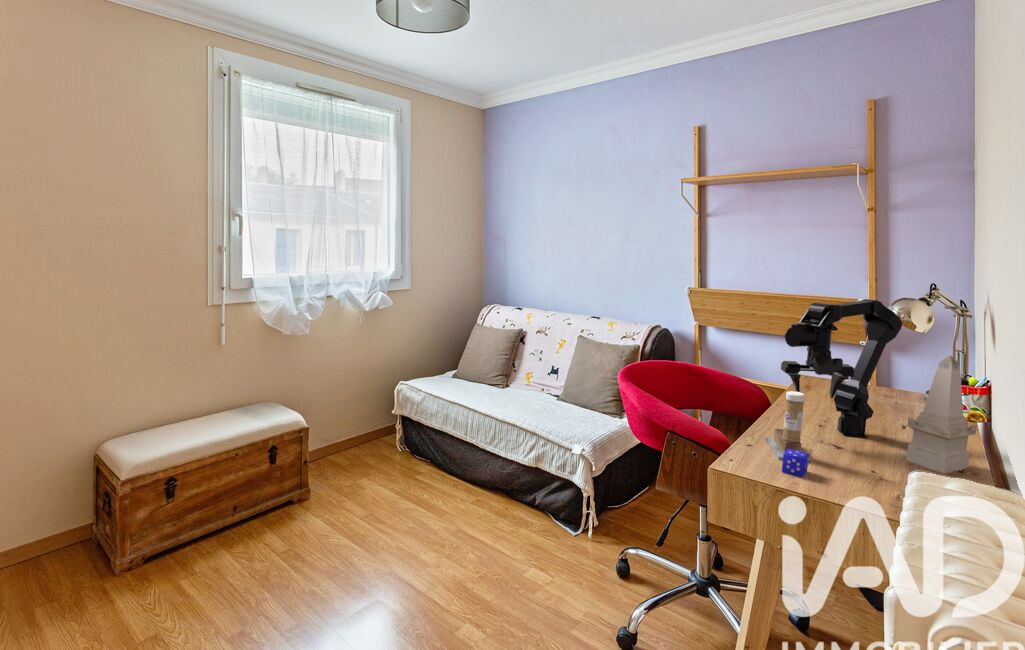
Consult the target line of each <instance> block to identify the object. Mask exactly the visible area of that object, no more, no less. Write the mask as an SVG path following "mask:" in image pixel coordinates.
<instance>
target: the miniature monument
mask: <svg viewBox="0 0 1025 650" xmlns="http://www.w3.org/2000/svg"><path fill="white" fill-rule="evenodd" d="M962 390H963V388H962V376H961V364H960V362H959V361H958V360H957V359H955V358H954V357H953V356H952V355H951V354H949V355H948V356H946V357H945V358H944V359H942V360H940V361H939V362H938V364H937V366H936V371H935V373H934V376H933V379H932V382H931V386H930V389H929V392H928V395H927V398H926V402H925V405H924V406H923V407H924V408H923V410H922V411H921V412H919V413H918V416H917V417H916V418H915V419H914V418H912V417H910V416H909V417H908V418H907V427H908V428H910V429H912V430H913V433H912V439H911V440H912V441H911V443H910V444H908V445H907V452H906V459H905V460H906V461H907V462H910V463H913V464H916V465H918V466H920V467H924V468H927V469H930V470H932V471H935V472H938V473H941V474H944V475H945V474H951V473H954V472H953V471H956V472H959V471H958V470H960V469H963V468H967V467H968V468H969V463H970V462H969V461H970V457H971V456H970V455H971V453H970V452H969V451H968V450H967V449H968V441H969V437H970V436H975V435H976V434H977V433H976V432H977V428H978V425H977V424H971V425H969V422H968V421H967V420H968V419H967V417H966V416H964V404H963V391H962ZM960 471H961V470H960Z"/></svg>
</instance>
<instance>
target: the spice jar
mask: <svg viewBox="0 0 1025 650" xmlns="http://www.w3.org/2000/svg"><path fill="white" fill-rule="evenodd" d="M805 395H806V394H805V393H802V392H801V391H800V392H796V391H791V390H790V391H786V394H785V401H786V403H785V413H784V420H783V429H784V432H783V439H784V440H786V441H789V442H799V441H800V442H801V440H802V439H801V432H802V428H803V427H802V425H803V416H804V415H803V414H804V403H805V398H806V396H805Z"/></svg>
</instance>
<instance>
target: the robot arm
mask: <svg viewBox="0 0 1025 650" xmlns="http://www.w3.org/2000/svg"><path fill="white" fill-rule="evenodd" d="M854 316H855V317H856V316H862V318H863V320H864V321H865V323H867V324H866V328H865V331H866V335H867V340H866V342H865V344H864V346H863V349H862V350H861V353H860V356H859V357H858V359H857V362H856V364H855V366H854V367H853V366H852V365H850V364H848V363H844V360H843V358H838V357H834V358H833V357H832V351H831V342H832V332H835V331H838V329H839V328H838V327H837V326H836V325H835V323H837V322H840V321H841V320H842V319H843V318H849V317H854ZM902 326H903V322H902V320H901V317H900V316H899V315H897V314H896V312H894V311H892V310H891V309H889V308H888V307H886V306H885V305H884V304H883V302H881V301H879V300H878V299H877V300H876V299H868V298H866V299H863V300H855V301H850V302H841V303H836V304H834V303H825V302H824V303H823V302H813V303H810V305H809V307H808V308H807V310H806V311H805V313H804V314H803V316H802V317H801V318H800V320H799V321H798V323H796V322H795V323H791V327H790V328H788V329H787V330H786V333H785V334H784V339H785V342H786V344H787V346H789V347H790V348H791V347H792V348H797V347H800V348H801V347H807V348H806V351H807V354H806V355H807V357H806V360H805V364H800V363H799V362H797V361H796V360H795V361H794V360H783V361H782V362H781V364H780V370H781V371H782V372H784V373H785V374H787V375H788V376H789V377H790V380H791V382H792V385H793V388H794V390H795V392H801V389H800V387H801V384H800V379H801V376H802V375H801V374H800V373H799V372H814V373H815V375H818V376H822V375H825V376H827V375H828V376H831V382H830V387H829V388H830V390H829V398H831V399H833V401H834V405H835V411H836V412H839V413H840V416H839V417H838V419H837V428H836V430H837V431H838V432H840V434H842V435H843V436H846V437H855V438H857V437H858V438H868V435H867V434H866V427H867V420H869V419H871V418H873V417H872V416H873V415H874V413H875V412H874V409H873V408H872V407H871V406H870V404H869V403H868V401H869V398H870V394H869V391H868V386H869V383H870V381H871V379H872V377H873V375H874V372H875V369H876V367H877V365H878V363H879V360H880V359H881V356H882V354H883V351H885V347H886V346H887V344H889V343H890V342H891V341H892V340H894V339H895V338H897V335H899V333H900V331H901V330H902ZM846 380H848V381H846ZM844 381H846V382H845V383H843V382H844Z"/></svg>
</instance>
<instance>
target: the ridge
mask: <svg viewBox="0 0 1025 650" xmlns="http://www.w3.org/2000/svg"><path fill="white" fill-rule="evenodd" d="M783 432H784V428H774V434H773V437H769V436H768V437H764V440H766V441H765V442H766V443H768V444H767V445H768V446H770V447H769V448H770V449H772V450H771V451H772V452H773V455H774V456H775V457H776V458H777V460H779V459H780V460H781V461H783V454H784V453H785V452H786V450H787V449H791V450H796V451H800V452H805V451H804V450H803V448H802V443H801V440H800V441H799V442H789V441H786V440H784V439H783ZM780 460H779V461H780ZM811 462H812V461H811V458H810V456H809V457H808V463H811Z"/></svg>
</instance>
